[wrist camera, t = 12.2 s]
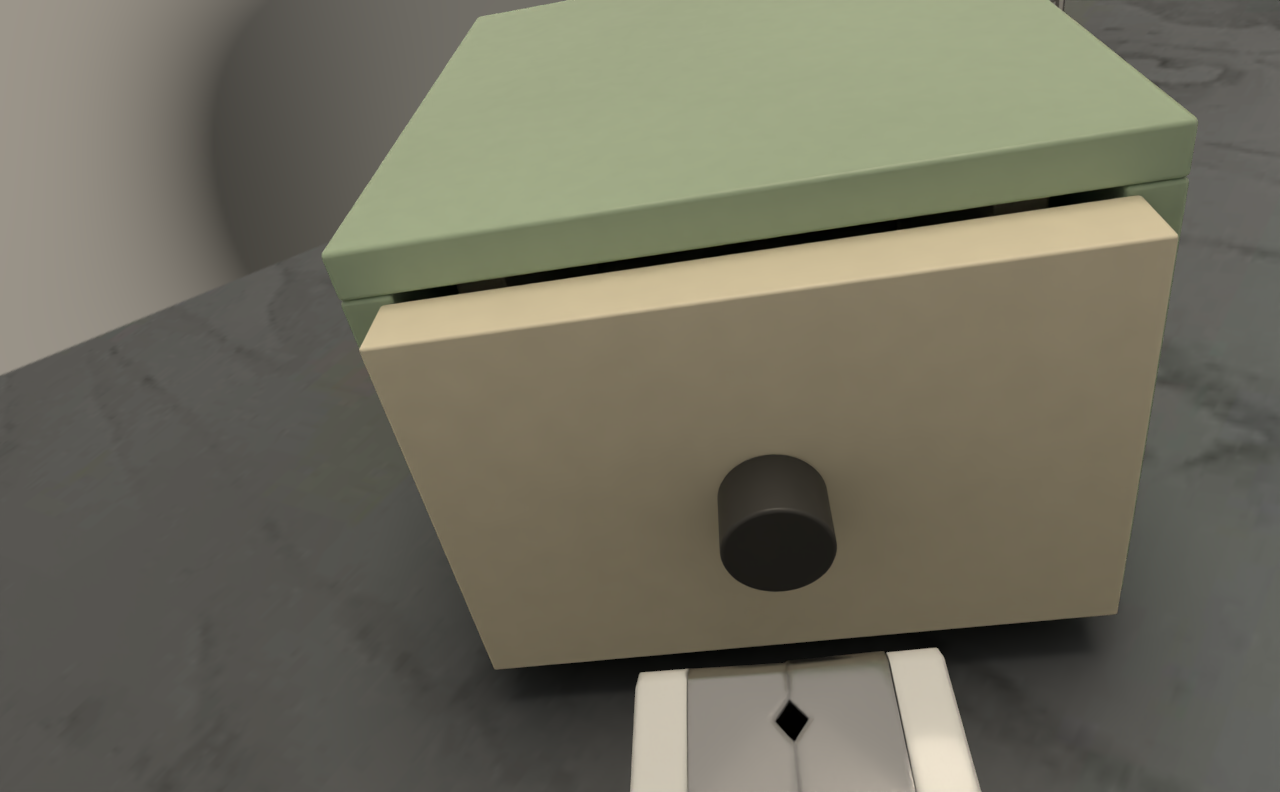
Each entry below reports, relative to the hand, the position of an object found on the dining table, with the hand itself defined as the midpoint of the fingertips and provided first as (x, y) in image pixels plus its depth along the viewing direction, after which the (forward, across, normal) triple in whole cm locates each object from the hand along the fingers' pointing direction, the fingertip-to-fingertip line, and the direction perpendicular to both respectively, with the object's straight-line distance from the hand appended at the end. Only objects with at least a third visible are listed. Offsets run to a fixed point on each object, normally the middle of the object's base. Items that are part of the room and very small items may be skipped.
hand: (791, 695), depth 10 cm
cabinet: (+12, 0, -6) cm, 13 cm away
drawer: (+10, 0, -5) cm, 11 cm away
